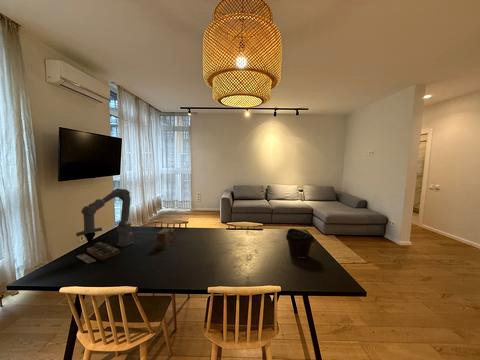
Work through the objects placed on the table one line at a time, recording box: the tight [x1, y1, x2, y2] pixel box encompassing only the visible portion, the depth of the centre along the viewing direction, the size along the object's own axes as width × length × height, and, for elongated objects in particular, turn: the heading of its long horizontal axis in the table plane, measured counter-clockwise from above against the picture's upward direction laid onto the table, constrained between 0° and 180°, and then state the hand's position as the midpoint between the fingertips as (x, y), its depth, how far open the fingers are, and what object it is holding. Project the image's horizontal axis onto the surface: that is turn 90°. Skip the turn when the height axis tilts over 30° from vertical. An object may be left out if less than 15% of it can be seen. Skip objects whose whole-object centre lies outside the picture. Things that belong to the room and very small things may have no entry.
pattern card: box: [76, 253, 97, 264], centre depth 142 cm, size 5×17×1 cm, turn 57°
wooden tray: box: [86, 242, 120, 261], centre depth 150 cm, size 12×20×3 cm, turn 57°
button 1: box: [94, 242, 103, 249], centre depth 154 cm, size 4×4×3 cm
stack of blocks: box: [156, 227, 176, 250], centre depth 170 cm, size 21×6×12 cm, turn 177°
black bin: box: [285, 228, 315, 260], centre depth 154 cm, size 18×20×18 cm
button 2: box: [99, 243, 107, 251], centre depth 150 cm, size 4×4×3 cm
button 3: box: [104, 245, 112, 253], centre depth 147 cm, size 4×4×3 cm
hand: (90, 243), depth 143 cm, fingers closed
